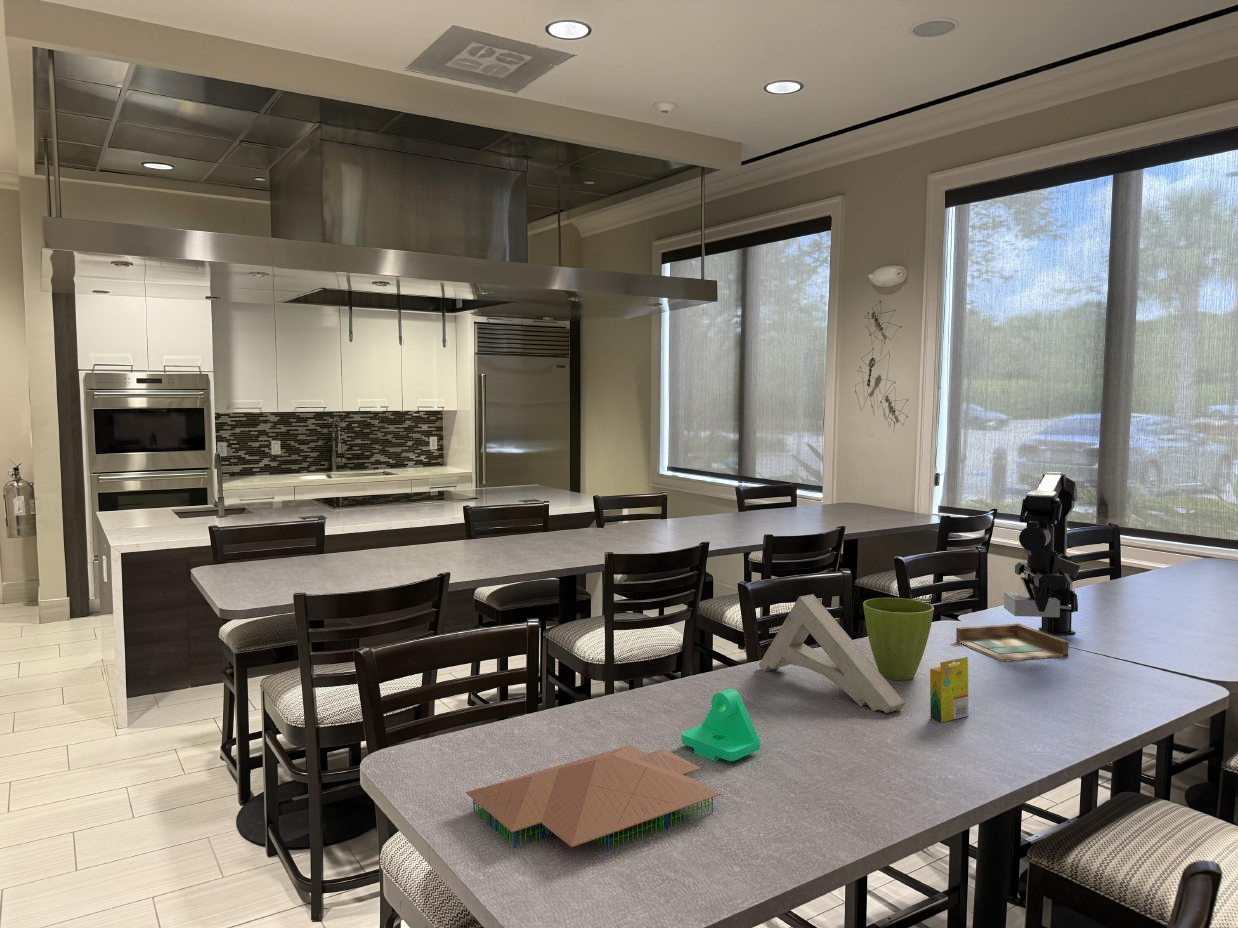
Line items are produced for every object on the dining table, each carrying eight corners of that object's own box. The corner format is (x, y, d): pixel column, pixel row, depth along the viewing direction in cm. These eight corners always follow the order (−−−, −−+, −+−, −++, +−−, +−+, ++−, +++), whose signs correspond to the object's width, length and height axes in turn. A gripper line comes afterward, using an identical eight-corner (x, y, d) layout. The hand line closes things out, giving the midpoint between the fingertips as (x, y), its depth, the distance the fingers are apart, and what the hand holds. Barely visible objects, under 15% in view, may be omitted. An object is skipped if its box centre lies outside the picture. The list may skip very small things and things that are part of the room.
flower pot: (947, 677, 186) (948, 606, 185) (904, 690, 177) (905, 615, 176) (891, 661, 198) (891, 594, 197) (848, 673, 190) (849, 603, 189)
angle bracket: (1015, 616, 201) (1015, 599, 201) (1003, 607, 210) (1004, 591, 210) (1059, 617, 199) (1059, 600, 199) (1046, 608, 208) (1046, 592, 208)
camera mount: (679, 748, 148) (678, 691, 148) (707, 736, 154) (707, 681, 153) (731, 768, 140) (731, 707, 139) (760, 755, 145) (759, 696, 144)
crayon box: (957, 711, 164) (957, 653, 164) (969, 716, 162) (970, 657, 161) (929, 718, 161) (929, 658, 160) (941, 723, 158) (941, 662, 158)
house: (734, 810, 125) (734, 756, 125) (541, 881, 106) (540, 819, 106) (643, 759, 144) (643, 713, 144) (466, 813, 125) (464, 760, 125)
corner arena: (1018, 637, 218) (1018, 623, 218) (1068, 656, 201) (1068, 641, 200) (956, 641, 215) (956, 627, 215) (1001, 661, 197) (1001, 646, 197)
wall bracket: (839, 775, 174) (758, 664, 193) (854, 770, 176) (772, 661, 196) (890, 707, 162) (798, 596, 182) (905, 702, 164) (813, 594, 184)
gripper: (1092, 552, 190) (1091, 620, 191) (1062, 540, 208) (1061, 602, 209) (1040, 551, 192) (1039, 619, 193) (1014, 539, 210) (1013, 601, 211)
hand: (1039, 610), depth 201 cm, fingers closed on angle bracket, 3 cm apart
